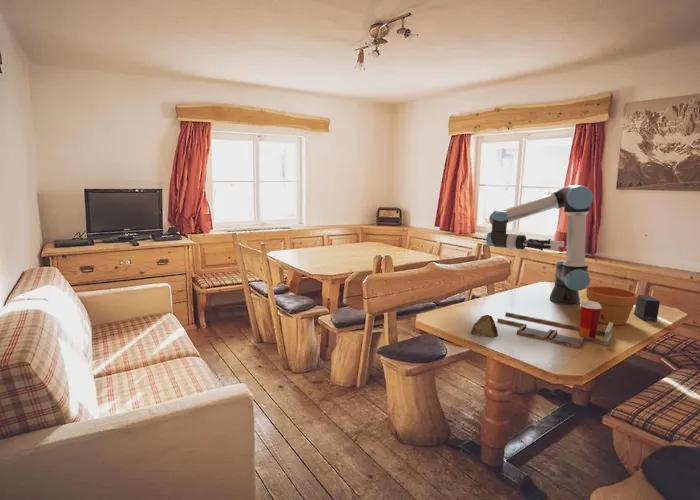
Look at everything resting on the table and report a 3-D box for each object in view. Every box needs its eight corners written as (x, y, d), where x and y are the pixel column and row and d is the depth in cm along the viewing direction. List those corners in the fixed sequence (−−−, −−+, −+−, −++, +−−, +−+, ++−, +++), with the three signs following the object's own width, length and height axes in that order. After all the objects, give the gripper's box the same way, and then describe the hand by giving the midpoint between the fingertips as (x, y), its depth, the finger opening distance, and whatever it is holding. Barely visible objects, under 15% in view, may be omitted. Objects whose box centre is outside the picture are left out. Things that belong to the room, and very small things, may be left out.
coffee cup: (595, 334, 187) (599, 301, 184) (600, 340, 179) (604, 306, 177) (574, 331, 190) (578, 299, 187) (578, 338, 182) (581, 304, 179)
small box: (658, 321, 204) (661, 301, 202) (643, 320, 205) (645, 300, 204) (647, 315, 214) (650, 295, 213) (633, 314, 216) (635, 294, 214)
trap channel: (489, 328, 193) (490, 315, 192) (506, 314, 212) (507, 303, 211) (604, 353, 166) (606, 339, 165) (611, 335, 185) (613, 322, 184)
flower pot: (591, 310, 220) (594, 283, 217) (638, 320, 205) (642, 291, 203) (577, 320, 205) (580, 290, 203) (627, 331, 191) (631, 299, 188)
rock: (464, 329, 184) (484, 332, 177) (470, 311, 187) (490, 314, 179) (477, 339, 190) (497, 343, 182) (483, 322, 193) (502, 325, 185)
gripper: (522, 245, 232) (565, 250, 219) (509, 252, 212) (555, 257, 199) (524, 232, 230) (566, 235, 218) (510, 237, 211) (556, 241, 198)
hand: (561, 246), depth 209 cm, fingers open, 13 cm apart
